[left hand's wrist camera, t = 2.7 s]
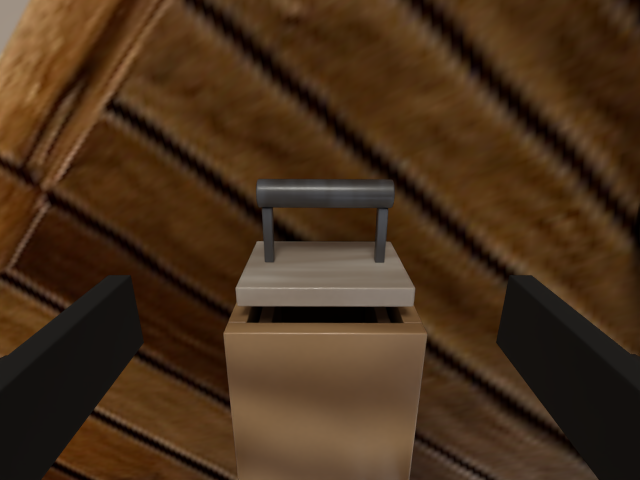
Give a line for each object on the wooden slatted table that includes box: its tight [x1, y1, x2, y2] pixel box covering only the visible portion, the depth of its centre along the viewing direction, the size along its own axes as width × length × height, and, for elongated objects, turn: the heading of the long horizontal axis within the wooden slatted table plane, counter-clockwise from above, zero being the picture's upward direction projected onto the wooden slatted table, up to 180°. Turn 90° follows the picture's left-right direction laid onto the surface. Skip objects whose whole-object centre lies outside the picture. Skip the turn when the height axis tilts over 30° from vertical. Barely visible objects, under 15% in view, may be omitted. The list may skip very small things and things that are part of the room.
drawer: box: [236, 179, 415, 323], centre depth 26 cm, size 24×10×7 cm, turn 0°
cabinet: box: [223, 302, 427, 480], centre depth 27 cm, size 20×11×10 cm, turn 0°
